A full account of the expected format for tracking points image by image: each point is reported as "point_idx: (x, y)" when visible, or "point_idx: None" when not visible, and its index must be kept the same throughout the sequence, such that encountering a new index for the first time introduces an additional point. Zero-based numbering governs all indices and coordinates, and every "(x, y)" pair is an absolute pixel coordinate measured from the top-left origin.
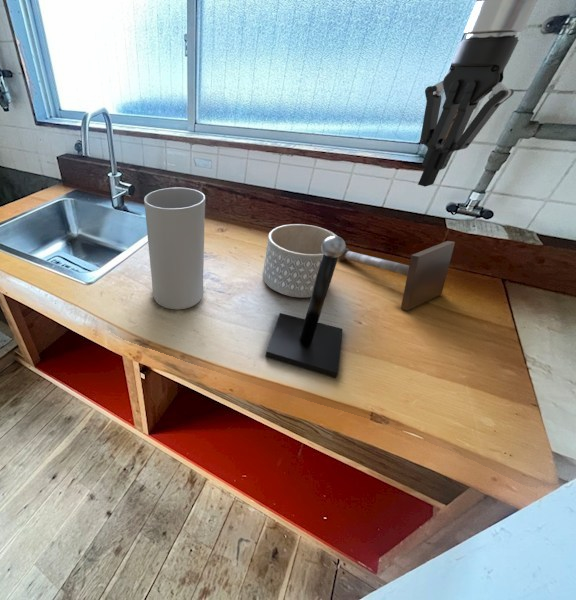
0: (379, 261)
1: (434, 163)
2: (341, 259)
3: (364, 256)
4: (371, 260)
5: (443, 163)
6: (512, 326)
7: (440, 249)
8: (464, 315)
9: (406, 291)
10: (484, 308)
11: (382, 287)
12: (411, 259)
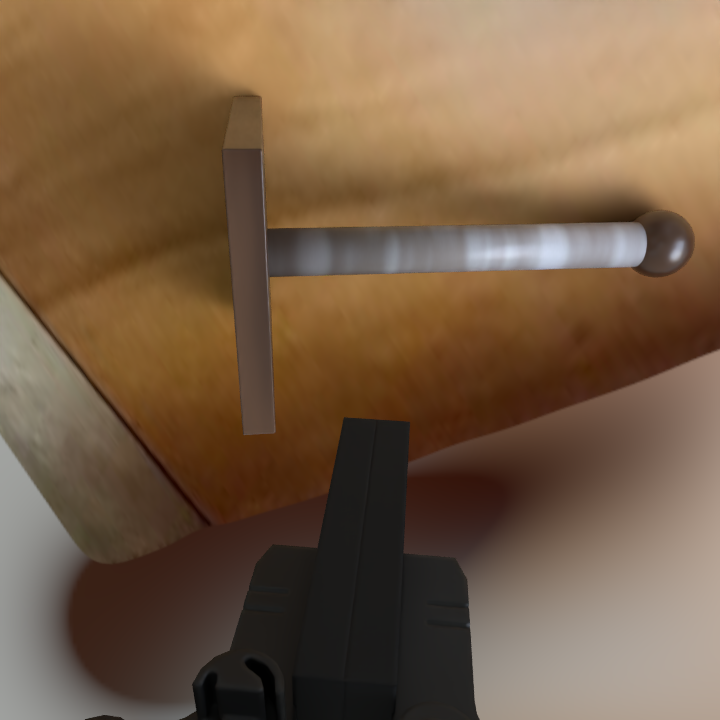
0: (469, 238)
1: (320, 565)
2: (646, 213)
3: (551, 243)
4: (506, 233)
5: (250, 595)
6: (46, 319)
7: (235, 328)
8: (137, 258)
9: (250, 109)
10: (139, 348)
11: (395, 177)
12: (256, 142)
